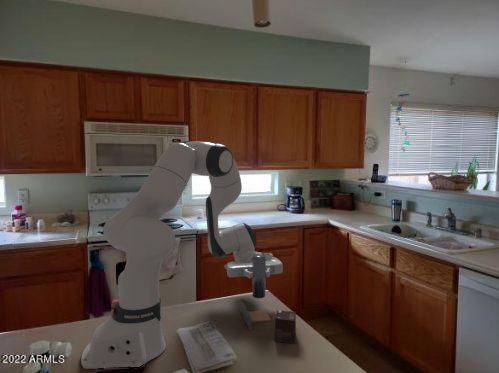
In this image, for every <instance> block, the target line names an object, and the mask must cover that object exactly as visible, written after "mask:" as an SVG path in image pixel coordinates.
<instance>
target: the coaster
mask: <svg viewBox="0 0 499 373" xmlns="http://www.w3.org/2000/svg"><path fill="white" fill-rule="evenodd" d="M248 313H249V315H250V316H251V318H252V320H253V323H262V322H272V319H271V317H270V315H269V314H268V312H267V311H266V309H265V310H255V311H248Z"/></svg>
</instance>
